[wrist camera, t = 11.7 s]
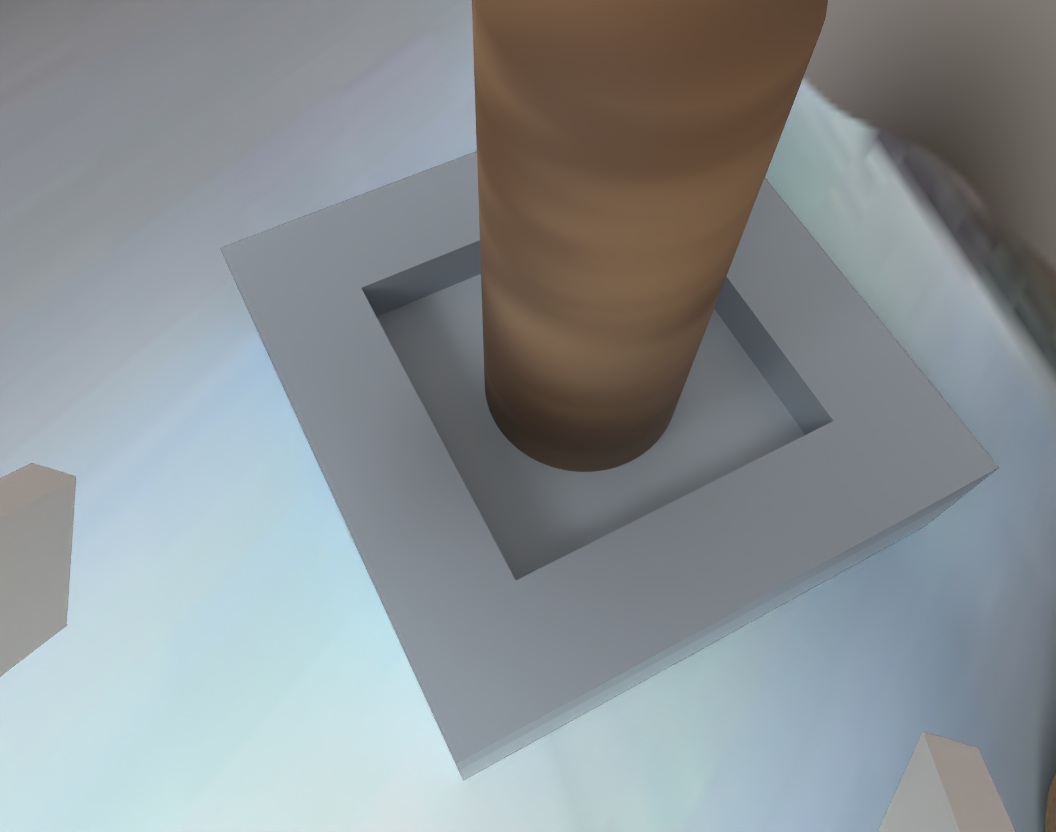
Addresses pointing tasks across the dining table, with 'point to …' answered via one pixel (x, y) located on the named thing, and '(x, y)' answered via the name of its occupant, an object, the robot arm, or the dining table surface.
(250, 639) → the dining table surface
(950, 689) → the dining table surface
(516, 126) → the post
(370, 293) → the slab
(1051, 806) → the block
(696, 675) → the dining table surface
